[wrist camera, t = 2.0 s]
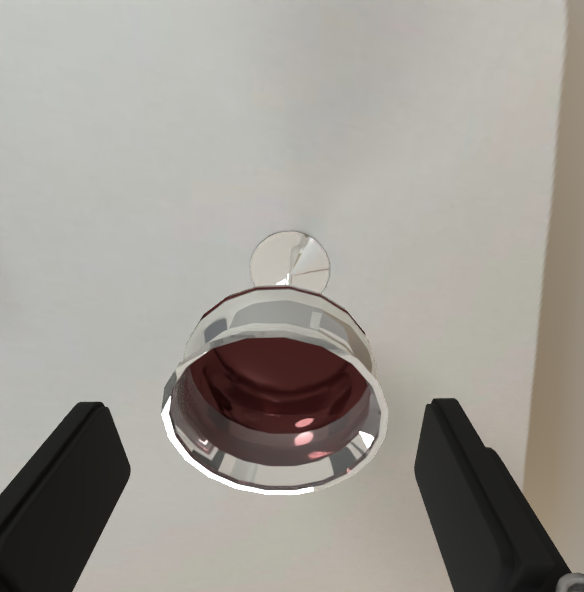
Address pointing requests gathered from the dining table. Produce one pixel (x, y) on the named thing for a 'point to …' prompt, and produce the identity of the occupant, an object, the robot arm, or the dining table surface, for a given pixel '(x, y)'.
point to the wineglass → (278, 381)
